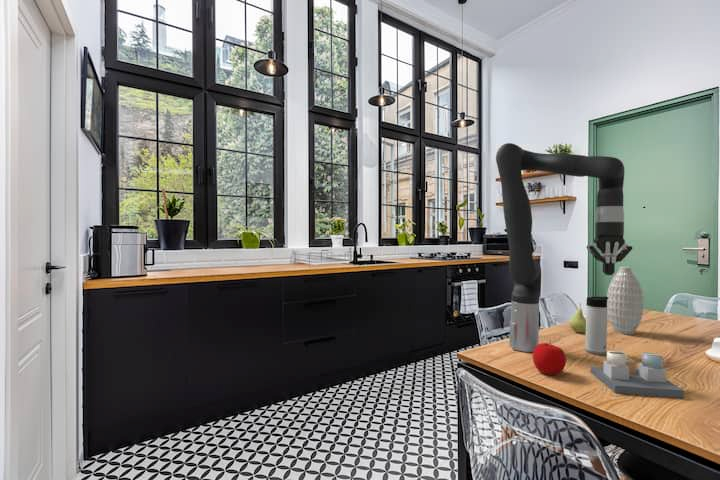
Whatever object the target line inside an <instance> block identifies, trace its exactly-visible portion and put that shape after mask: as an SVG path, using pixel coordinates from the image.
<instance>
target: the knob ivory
mask: <svg viewBox="0 0 720 480" xmlns="http://www.w3.org/2000/svg"><path fill="white" fill-rule="evenodd" d="M626 355H627V354H626V353H624V352H621V351H616V350H607V354H606V361H607V363H608V364H610V365H613V366H618V367H625V366H626Z"/></svg>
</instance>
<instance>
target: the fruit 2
mask: <svg viewBox="0 0 720 480" xmlns="http://www.w3.org/2000/svg"><path fill="white" fill-rule="evenodd" d="M569 327H570V328H571V330H573V331H574V332H575V333H577V334H583V333H586V317H585V316H584V312H583V309H582V304H581V303H579V308H578V309H577V310H576V312H575V314H574V315H573V316H572V317H571V319H570V320H569Z"/></svg>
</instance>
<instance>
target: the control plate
mask: <svg viewBox="0 0 720 480" xmlns="http://www.w3.org/2000/svg"><path fill="white" fill-rule="evenodd" d="M590 374H592V376H594V377H595V378H597V379H598V380H599V381H600V382H601V383H602V384H603V385H605V386H606V387H607V388H608V389H610V390H611V391H612V392H613V393H615V394H624V395H635V396H636V395H637V396H647V397H648V396H650V397H664V398H675V399H676V398H677V399H678V398H679V399H685V390H684V389H682V388H681V387H679V386H678V385H676V384H675V383H673V382H671V381H669V380H668V379H667V369H666V368H664V367H663V366H662V369H653V368H648V367H645V366H643V365H642V362H638V369H637V368H636V374H630V373H629V367H628V366H625V367H618V366H613V365H610V364H608V363H607V360H603V366H592V365H591V366H590Z"/></svg>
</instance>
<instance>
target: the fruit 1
mask: <svg viewBox="0 0 720 480" xmlns="http://www.w3.org/2000/svg"><path fill="white" fill-rule="evenodd" d="M551 342H552V340H551V339H549V343H547V342H543V343H542V342H541V343H539V345H537V346H536V347H535V349H534V351H533V352H532V360H533V364H534V366H535V368H536V369H537V370H538V372H539V371H540V372H541V373H542V374H545V375H549V376H557V375H559V374H561V373H562V372H563V371H564V369H565V367H566V363H567V357H566V354H565V352H564V349H562V348H561V347H560V346H557V345H553V344H551Z"/></svg>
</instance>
